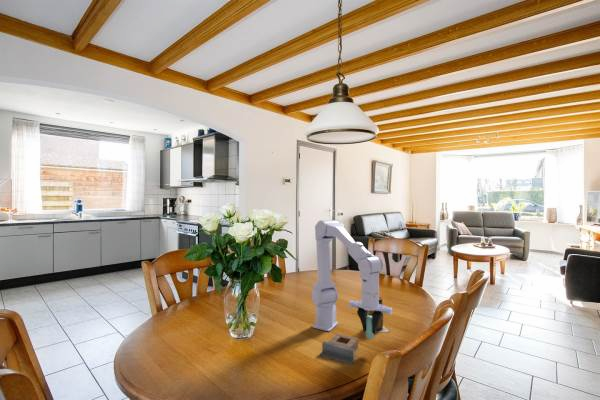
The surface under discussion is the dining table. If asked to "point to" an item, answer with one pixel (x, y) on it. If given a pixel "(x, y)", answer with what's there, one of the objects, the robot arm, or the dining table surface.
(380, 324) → the condiment
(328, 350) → the wall
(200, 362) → the dining table surface
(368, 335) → the dowel
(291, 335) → the dining table surface
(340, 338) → the brown hollow block
